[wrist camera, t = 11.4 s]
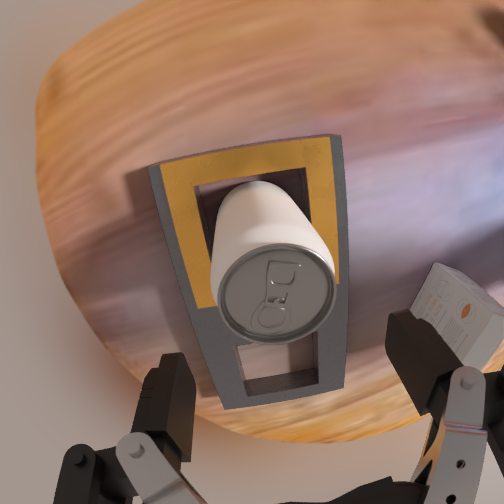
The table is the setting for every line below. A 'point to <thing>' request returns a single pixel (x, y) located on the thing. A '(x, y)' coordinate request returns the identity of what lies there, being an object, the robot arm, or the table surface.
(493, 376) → the robot arm
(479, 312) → the small box
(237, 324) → the can
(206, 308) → the grey slotted tray
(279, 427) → the table surface
